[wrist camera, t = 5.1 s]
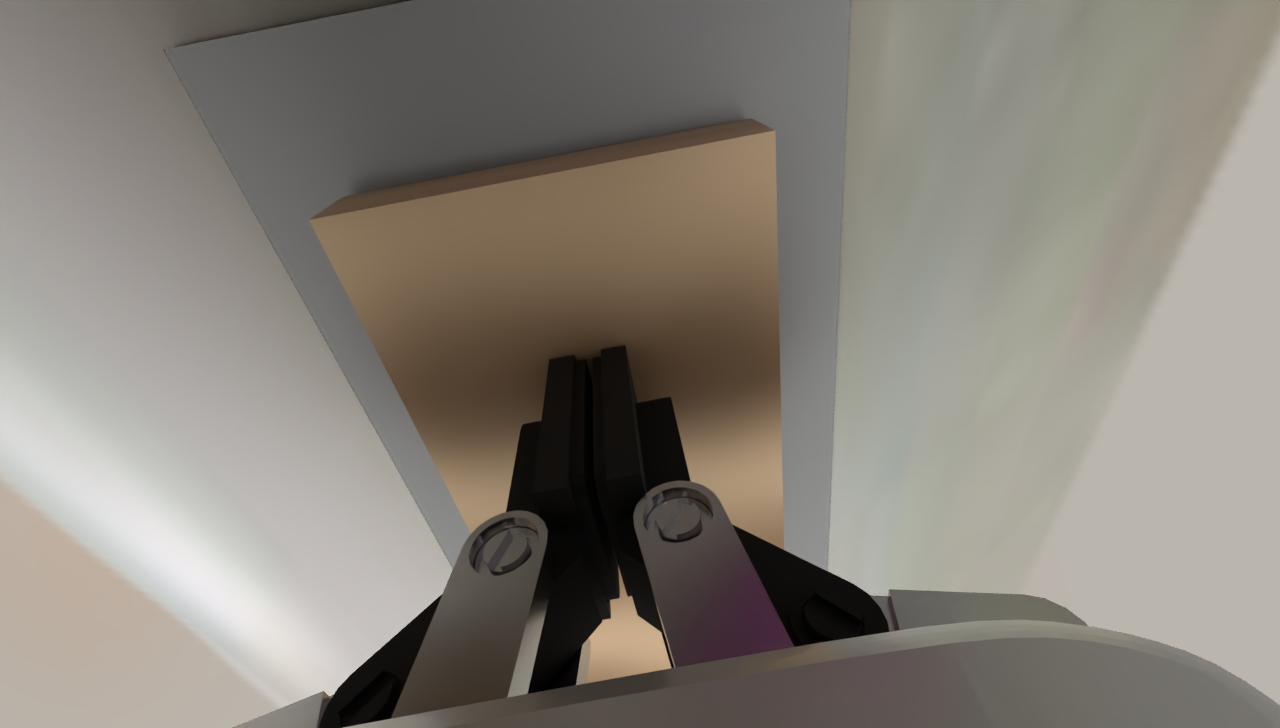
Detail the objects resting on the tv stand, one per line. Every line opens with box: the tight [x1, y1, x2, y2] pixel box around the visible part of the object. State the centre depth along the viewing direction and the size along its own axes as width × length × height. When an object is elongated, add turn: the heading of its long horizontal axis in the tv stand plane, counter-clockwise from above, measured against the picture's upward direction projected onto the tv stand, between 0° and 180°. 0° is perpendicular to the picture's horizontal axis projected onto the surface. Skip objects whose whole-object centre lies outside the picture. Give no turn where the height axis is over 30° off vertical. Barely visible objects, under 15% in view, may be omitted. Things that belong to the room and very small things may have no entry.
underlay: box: [163, 0, 851, 571], centre depth 16 cm, size 28×12×1 cm, turn 10°
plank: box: [309, 118, 784, 683], centre depth 15 cm, size 21×8×2 cm, turn 10°
